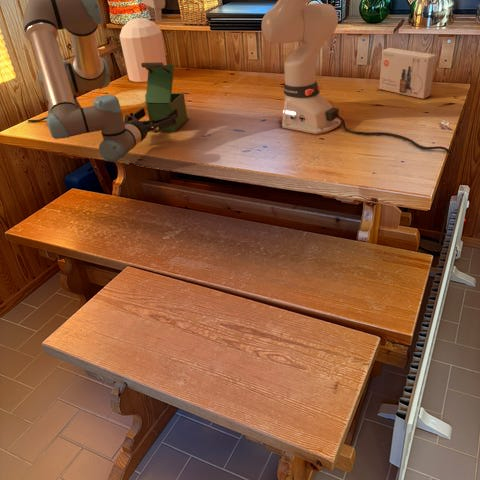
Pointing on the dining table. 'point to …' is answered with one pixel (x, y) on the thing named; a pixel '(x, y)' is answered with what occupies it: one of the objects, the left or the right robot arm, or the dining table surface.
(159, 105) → the chest
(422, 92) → the skincare box
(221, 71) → the dining table surface
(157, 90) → the lid
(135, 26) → the container
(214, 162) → the dining table surface
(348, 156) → the dining table surface
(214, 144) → the dining table surface
